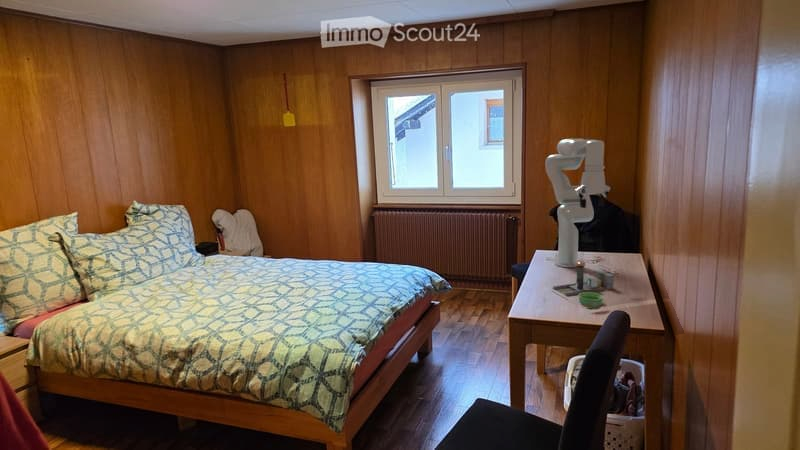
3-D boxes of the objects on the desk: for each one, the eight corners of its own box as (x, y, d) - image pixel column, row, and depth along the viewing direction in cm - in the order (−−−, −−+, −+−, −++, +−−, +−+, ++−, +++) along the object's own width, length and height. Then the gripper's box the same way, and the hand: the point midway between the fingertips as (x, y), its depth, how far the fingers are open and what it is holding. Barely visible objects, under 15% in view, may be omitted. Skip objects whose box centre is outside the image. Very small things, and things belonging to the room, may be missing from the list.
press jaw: (568, 287, 214) (569, 261, 212) (586, 284, 216) (587, 259, 214) (578, 292, 207) (579, 265, 205) (596, 289, 210) (598, 263, 208)
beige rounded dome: (589, 286, 215) (589, 279, 215) (597, 285, 216) (597, 278, 216) (595, 289, 211) (595, 282, 211) (603, 288, 212) (603, 280, 212)
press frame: (551, 291, 215) (552, 274, 214) (598, 285, 221) (599, 268, 220) (567, 300, 204) (568, 282, 202) (617, 293, 210) (618, 276, 209)
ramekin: (574, 303, 200) (574, 292, 199) (595, 301, 201) (596, 291, 200) (584, 311, 192) (584, 300, 191) (606, 309, 192) (607, 298, 191)
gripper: (604, 167, 225) (603, 204, 228) (571, 169, 221) (570, 207, 224) (616, 168, 218) (614, 206, 221) (582, 170, 214) (580, 209, 217)
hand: (592, 206), depth 223 cm, fingers open, 9 cm apart
